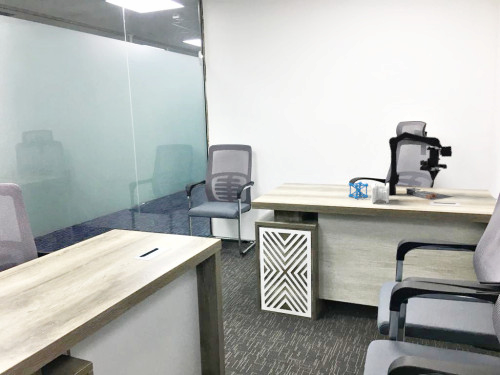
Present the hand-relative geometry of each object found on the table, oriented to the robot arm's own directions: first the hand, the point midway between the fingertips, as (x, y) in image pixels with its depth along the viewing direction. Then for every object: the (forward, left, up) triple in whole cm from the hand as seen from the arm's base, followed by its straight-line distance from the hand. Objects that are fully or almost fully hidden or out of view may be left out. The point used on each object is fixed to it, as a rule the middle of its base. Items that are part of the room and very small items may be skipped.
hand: (433, 180), depth 269 cm
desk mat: (-1, +3, -11) cm, 11 cm away
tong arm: (-5, +1, -10) cm, 11 cm away
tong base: (-7, +3, -10) cm, 13 cm away
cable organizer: (-39, +6, -11) cm, 41 cm away
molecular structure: (-41, +25, -11) cm, 50 cm away
